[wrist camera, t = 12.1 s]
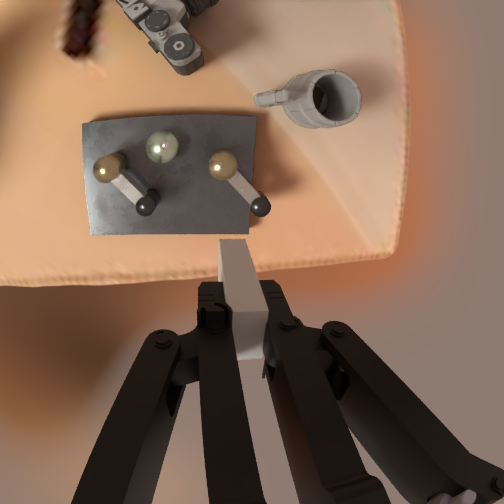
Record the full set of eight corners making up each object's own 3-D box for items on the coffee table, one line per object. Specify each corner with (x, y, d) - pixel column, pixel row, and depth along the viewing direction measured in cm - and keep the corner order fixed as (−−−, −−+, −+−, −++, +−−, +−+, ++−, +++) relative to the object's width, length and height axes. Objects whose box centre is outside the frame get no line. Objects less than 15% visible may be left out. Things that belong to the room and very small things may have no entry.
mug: (334, 127, 36) (379, 134, 25) (251, 130, 35) (268, 135, 24) (331, 76, 32) (375, 65, 22) (246, 76, 31) (261, 57, 21)
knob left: (149, 213, 36) (142, 224, 32) (99, 165, 32) (88, 171, 28) (165, 197, 35) (159, 206, 31) (115, 147, 31) (104, 150, 27)
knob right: (253, 213, 38) (257, 224, 34) (204, 161, 34) (203, 165, 30) (271, 198, 37) (278, 207, 33) (223, 144, 33) (224, 146, 29)
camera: (244, 41, 29) (255, 16, 20) (180, 81, 31) (168, 68, 22) (181, -28, 22) (175, -62, 13) (120, 10, 24) (96, -15, 15)
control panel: (95, 229, 38) (86, 240, 34) (88, 122, 31) (76, 124, 27) (247, 228, 41) (250, 239, 38) (254, 116, 34) (259, 116, 31)
